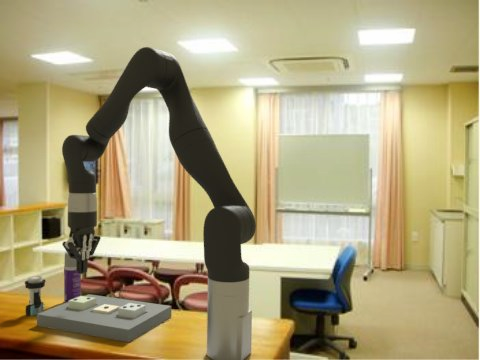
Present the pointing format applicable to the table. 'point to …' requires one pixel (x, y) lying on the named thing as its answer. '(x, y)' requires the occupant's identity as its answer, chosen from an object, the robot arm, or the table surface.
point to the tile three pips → (131, 310)
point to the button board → (104, 319)
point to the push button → (34, 295)
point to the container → (71, 279)
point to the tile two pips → (82, 303)
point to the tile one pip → (106, 309)
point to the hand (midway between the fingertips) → (82, 272)
